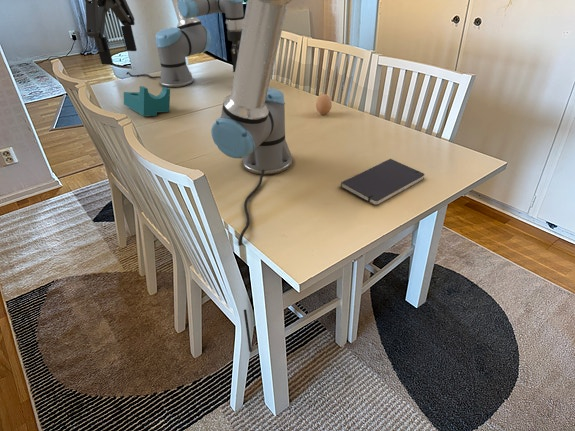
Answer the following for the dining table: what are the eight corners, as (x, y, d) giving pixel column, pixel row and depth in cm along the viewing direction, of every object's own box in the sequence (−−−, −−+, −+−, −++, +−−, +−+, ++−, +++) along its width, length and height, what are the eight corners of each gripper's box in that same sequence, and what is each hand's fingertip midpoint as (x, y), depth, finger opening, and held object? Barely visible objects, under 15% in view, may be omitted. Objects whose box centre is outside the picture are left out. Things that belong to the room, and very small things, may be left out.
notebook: (389, 163, 124) (340, 187, 113) (390, 158, 123) (341, 182, 112) (424, 178, 116) (375, 206, 105) (425, 174, 115) (376, 201, 104)
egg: (320, 118, 154) (320, 97, 149) (313, 113, 158) (313, 93, 154) (334, 115, 156) (335, 95, 151) (326, 110, 160) (327, 90, 156)
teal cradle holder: (169, 115, 164) (170, 89, 159) (143, 115, 156) (144, 88, 152) (148, 104, 174) (148, 79, 170) (123, 104, 167) (123, 78, 163)
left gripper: (232, 25, 179) (237, 78, 193) (221, 34, 165) (227, 90, 179) (249, 25, 178) (253, 78, 192) (239, 34, 164) (244, 91, 178)
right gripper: (108, -39, 108) (128, 45, 120) (50, -30, 88) (82, 70, 100) (134, -39, 107) (152, 46, 119) (82, -30, 87) (110, 70, 99)
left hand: (240, 84), depth 185 cm, fingers closed on pill bottle, 4 cm apart
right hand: (120, 57), depth 110 cm, fingers open, 13 cm apart
